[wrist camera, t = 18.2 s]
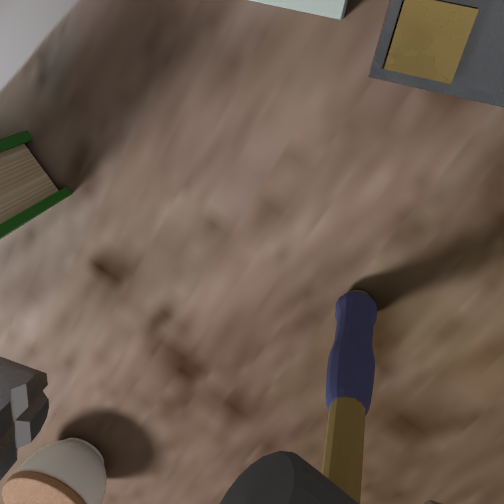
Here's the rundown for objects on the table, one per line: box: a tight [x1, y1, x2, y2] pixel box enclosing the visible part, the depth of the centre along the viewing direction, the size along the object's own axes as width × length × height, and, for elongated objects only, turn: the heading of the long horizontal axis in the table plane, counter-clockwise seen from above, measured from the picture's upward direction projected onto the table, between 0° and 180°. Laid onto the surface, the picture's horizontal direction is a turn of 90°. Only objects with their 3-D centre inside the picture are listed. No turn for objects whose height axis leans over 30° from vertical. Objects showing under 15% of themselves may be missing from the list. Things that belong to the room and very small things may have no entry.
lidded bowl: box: [2, 438, 107, 504], centre depth 65 cm, size 13×13×11 cm
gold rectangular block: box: [384, 0, 479, 84], centre depth 32 cm, size 4×4×6 cm
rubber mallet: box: [220, 290, 377, 504], centre depth 34 cm, size 12×8×30 cm, turn 46°
